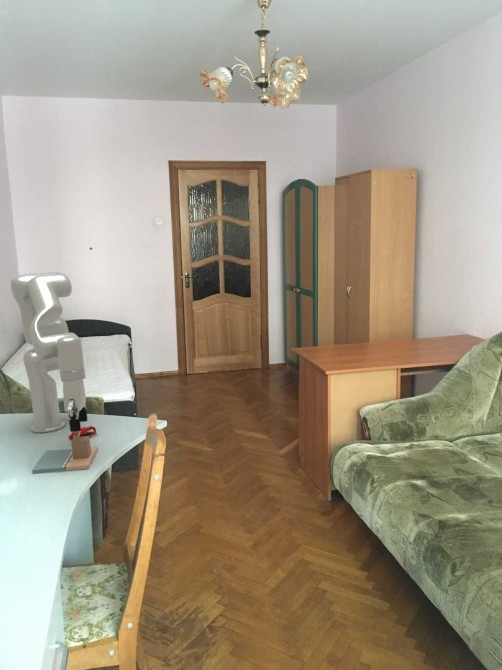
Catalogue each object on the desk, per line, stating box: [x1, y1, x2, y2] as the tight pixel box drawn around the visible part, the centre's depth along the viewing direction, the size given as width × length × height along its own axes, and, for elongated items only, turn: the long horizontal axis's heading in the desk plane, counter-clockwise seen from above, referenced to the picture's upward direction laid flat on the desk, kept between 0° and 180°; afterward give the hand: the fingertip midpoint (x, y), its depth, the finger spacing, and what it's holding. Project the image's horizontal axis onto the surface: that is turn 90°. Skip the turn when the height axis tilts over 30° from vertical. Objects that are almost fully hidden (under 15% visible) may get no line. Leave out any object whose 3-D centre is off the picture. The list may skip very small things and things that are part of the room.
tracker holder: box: [68, 425, 97, 440], centre depth 202 cm, size 12×4×10 cm
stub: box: [65, 435, 99, 471], centre depth 181 cm, size 16×7×7 cm, turn 5°
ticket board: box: [31, 447, 73, 475], centre depth 181 cm, size 16×10×1 cm, turn 5°
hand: (79, 426), depth 179 cm, fingers open, 9 cm apart
